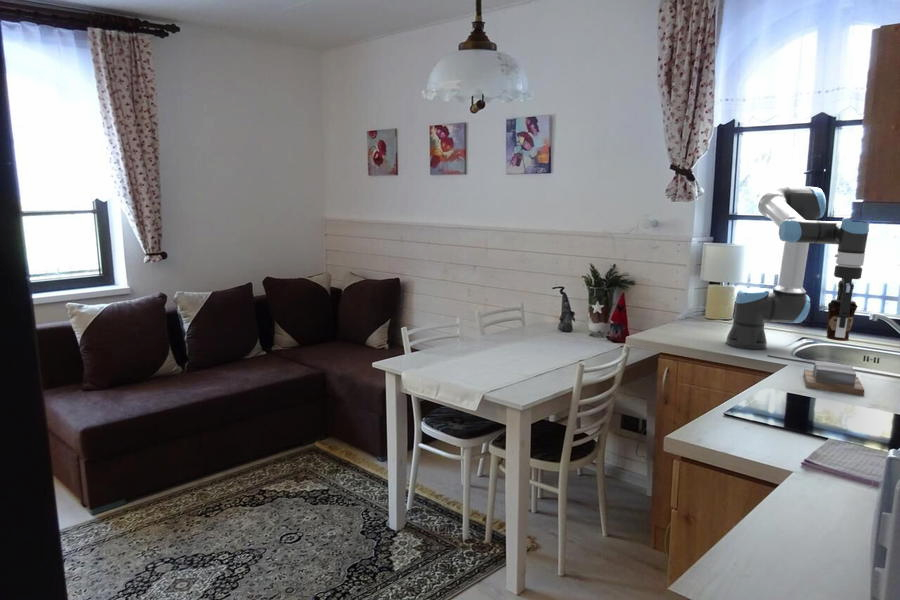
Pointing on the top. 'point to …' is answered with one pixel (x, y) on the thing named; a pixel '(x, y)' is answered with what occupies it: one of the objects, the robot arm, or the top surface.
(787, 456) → the top surface
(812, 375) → the stepped plinth
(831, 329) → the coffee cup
